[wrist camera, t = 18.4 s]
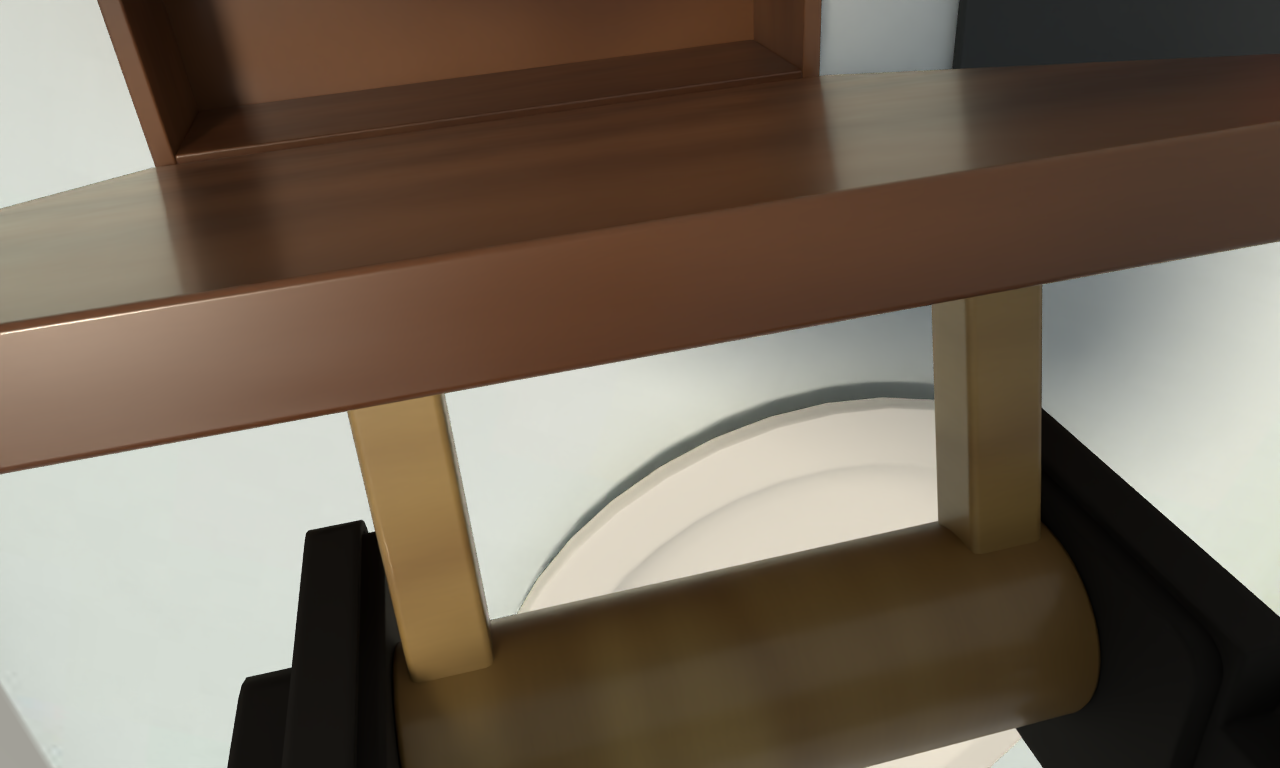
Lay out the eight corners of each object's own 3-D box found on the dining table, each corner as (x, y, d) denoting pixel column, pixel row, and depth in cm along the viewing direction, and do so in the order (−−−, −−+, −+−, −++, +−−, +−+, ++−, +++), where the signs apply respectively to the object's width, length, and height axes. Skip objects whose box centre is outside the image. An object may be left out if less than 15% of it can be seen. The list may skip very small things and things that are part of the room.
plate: (346, 629, 38) (345, 674, 36) (973, 242, 35) (1008, 268, 33) (676, 905, 53) (687, 947, 51) (1127, 649, 51) (1157, 683, 49)
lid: (-1068, 496, 4) (-456, 1315, 6) (1891, 23, 7) (1717, 680, 9) (150, 167, 23) (212, 390, 24) (825, 74, 25) (838, 280, 27)
